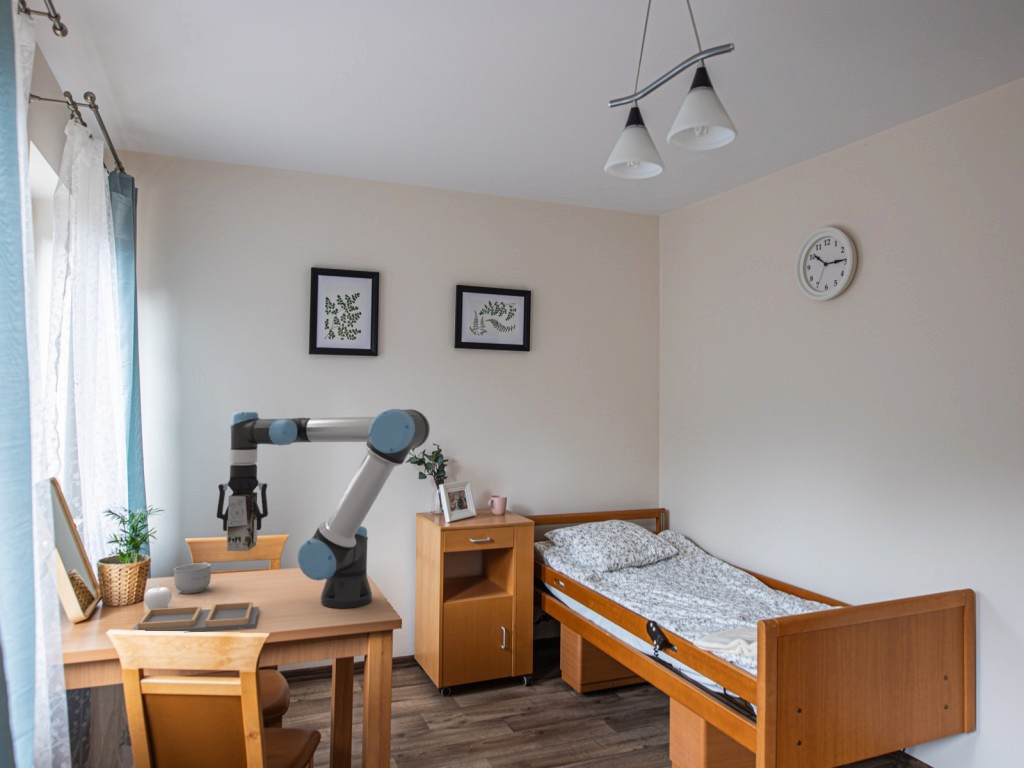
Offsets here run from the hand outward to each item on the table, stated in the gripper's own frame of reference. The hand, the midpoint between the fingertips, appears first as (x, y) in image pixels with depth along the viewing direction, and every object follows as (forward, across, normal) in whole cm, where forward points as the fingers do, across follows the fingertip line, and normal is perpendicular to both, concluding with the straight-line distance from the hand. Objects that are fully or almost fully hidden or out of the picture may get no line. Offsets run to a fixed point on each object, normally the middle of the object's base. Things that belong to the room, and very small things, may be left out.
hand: (242, 541), depth 216 cm
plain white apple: (+19, +23, 0) cm, 30 cm away
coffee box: (+2, 0, 0) cm, 2 cm away
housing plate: (+19, +9, +14) cm, 25 cm away
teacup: (+19, +16, -21) cm, 33 cm away
